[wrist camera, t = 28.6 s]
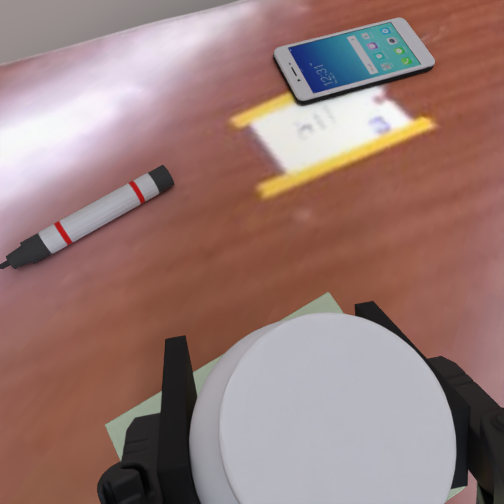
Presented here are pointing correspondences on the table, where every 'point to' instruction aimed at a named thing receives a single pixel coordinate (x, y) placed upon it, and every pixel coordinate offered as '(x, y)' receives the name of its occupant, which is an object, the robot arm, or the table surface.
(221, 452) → the supplement bottle
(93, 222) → the marker
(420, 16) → the table surface
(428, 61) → the smartphone
